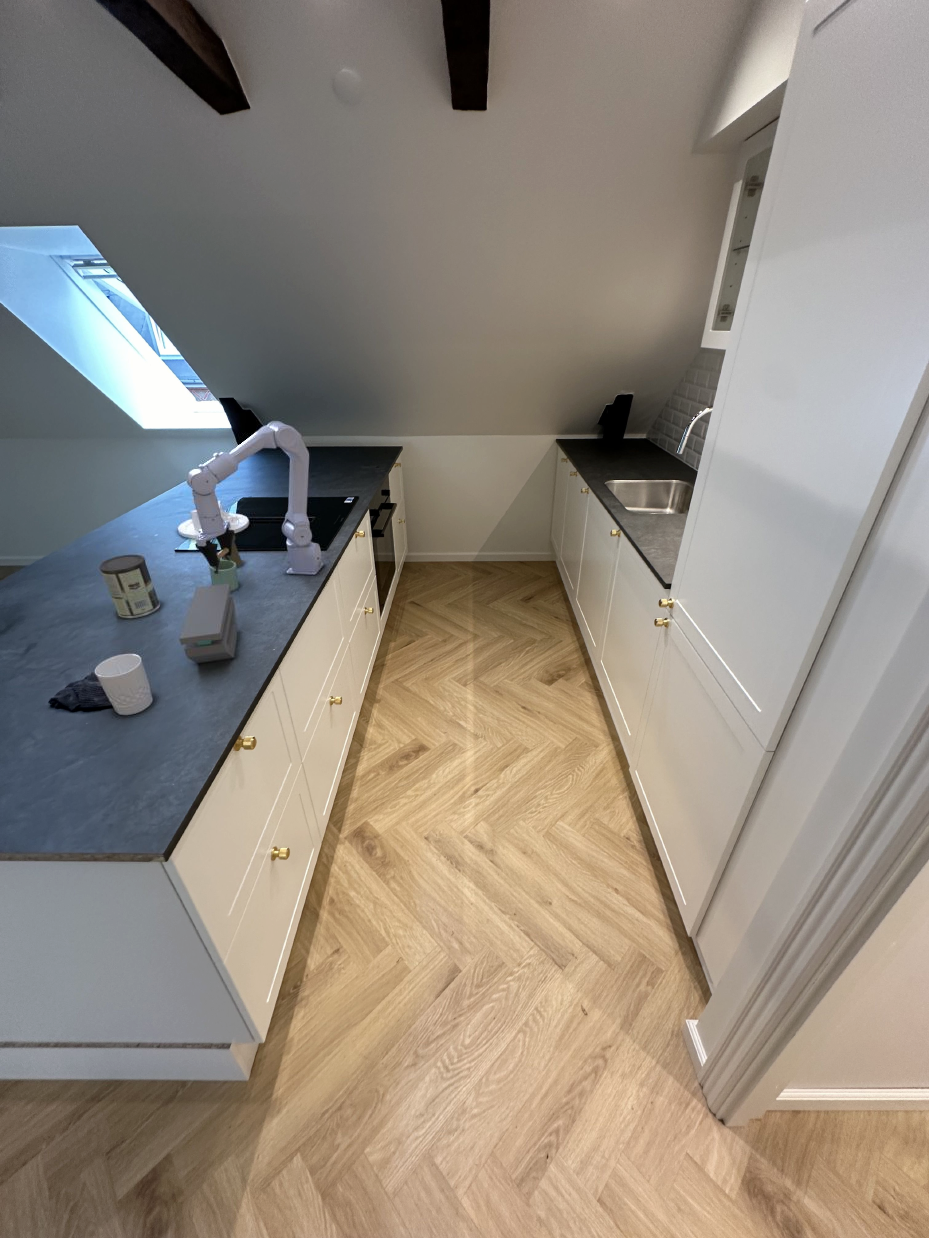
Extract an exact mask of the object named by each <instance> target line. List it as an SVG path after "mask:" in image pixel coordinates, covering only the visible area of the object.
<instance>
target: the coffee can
mask: <svg viewBox="0 0 929 1238" xmlns="http://www.w3.org/2000/svg"><path fill="white" fill-rule="evenodd" d="M98 569H99V571H100V572H101V574H102V577H103V579H104V582H105V585H106V587H107V589H108V591H109V592H108V593H109V595H110V596H111V600H112V602H113V605H114V607H115V610H116V612H117V615H118V616H119V617H120V618H123V619H137V618H141V617H146V616H148V615H151V614H152V613H155V612H156V611H158V610H159V608H160V607H161V602H160V601H159V598H158V595H157V593H156V589H155V587H154V583H153V581H152V578H151V574H150V571H149V569H148V566H147V563H146V558H145V557H144V556H143V555H142V554H141V555H140V554H123V555H118V556H114V557H111V558H108V559H106V560H105V561H102V562H101V563H99V565H98Z"/></svg>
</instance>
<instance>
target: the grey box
mask: <svg viewBox="0 0 929 1238" xmlns="http://www.w3.org/2000/svg"><path fill="white" fill-rule="evenodd" d="M231 593H232V591H231V585H230V583H229V584H220V585H212V584H211V585H204V586H196V587H195V590H194V593H193V596H192V599H191V602H190V604H189V608H188V611H187V614H186V617H185V619H184V623H183V626H182V628H181V633H180V636H179V639H178V640H179V643H180V645H181V646H184V652H185V655H186V658H188V659H189V660H191V661H193V662H194V663H196V664H202V663H208V662H216V661H222V660H223V661H224V660H229V659H234V658H235V652H236V645H237V638H238V625H237V616H236V606H235V601H234V597H233V596H231Z"/></svg>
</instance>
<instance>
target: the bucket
mask: <svg viewBox="0 0 929 1238" xmlns="http://www.w3.org/2000/svg"><path fill="white" fill-rule="evenodd" d="M228 552H229V549H228V548H224V549H223V550H222V551H221V550H220V551H219V552H217V557H218V566H217V567H216V566H210V565H208V567H209V573H210V580H211V585H220V584H229V583H230V585H231V592H233V591H235V590H237V589H238V588H239V586H240V585H239V580H238V569H237V568H238V567H237V568H236V563H235V562H233V561H231V559H229V558H228V557H227V555H226V553H228ZM223 556H225V558H226V559H227V560H222V557H223Z"/></svg>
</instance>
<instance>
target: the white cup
mask: <svg viewBox="0 0 929 1238" xmlns="http://www.w3.org/2000/svg"><path fill="white" fill-rule="evenodd" d="M144 666H145V665H144V663H143V660H142V657H141V656H140V655H138V654H136V653H125V654H124V653H123V654H117V655H115V656H111V657H109V658H107V659H105V660H103V661H102V662H100V663H99V664H98V665H97V666H96V667H95V669H94V674H95V676H96V678H97V680H98V682H99V684H100V685H101V688H102V690H103V691H104V693H105V695H106V697H107V699H108V701H109V702H110V703H111V705H112V708H113V709H114V711H115V712H116V714H118V715H121V716H130V715H135V714H137V713H138V714H139V713H140V712H143V711H144V710H146V709H147V708H148V707H150V706H151V705H152V703H153V702H154V700H153V695H152V692H151V686H150V683H149V678H148V676H147V672H146V669H145V667H144Z"/></svg>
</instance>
